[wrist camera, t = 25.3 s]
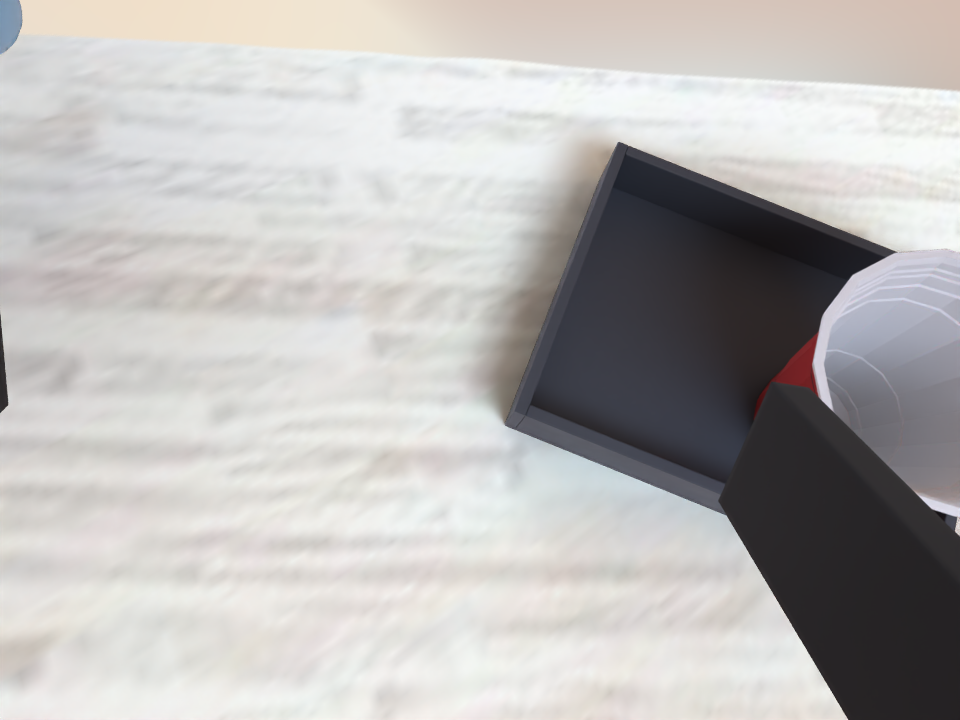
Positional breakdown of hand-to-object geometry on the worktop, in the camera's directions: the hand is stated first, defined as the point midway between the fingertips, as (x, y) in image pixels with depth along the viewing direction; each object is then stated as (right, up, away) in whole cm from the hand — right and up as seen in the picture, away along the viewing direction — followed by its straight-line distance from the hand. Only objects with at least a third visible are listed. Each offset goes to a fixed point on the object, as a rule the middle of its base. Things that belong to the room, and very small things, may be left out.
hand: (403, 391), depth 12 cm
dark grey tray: (+16, 0, +28) cm, 32 cm away
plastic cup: (+19, -3, +27) cm, 33 cm away
